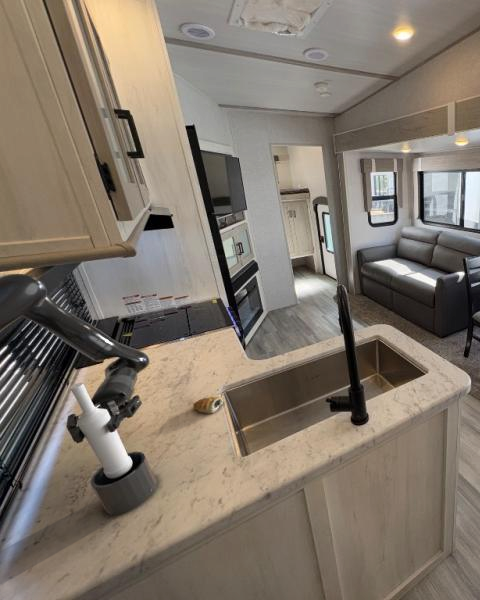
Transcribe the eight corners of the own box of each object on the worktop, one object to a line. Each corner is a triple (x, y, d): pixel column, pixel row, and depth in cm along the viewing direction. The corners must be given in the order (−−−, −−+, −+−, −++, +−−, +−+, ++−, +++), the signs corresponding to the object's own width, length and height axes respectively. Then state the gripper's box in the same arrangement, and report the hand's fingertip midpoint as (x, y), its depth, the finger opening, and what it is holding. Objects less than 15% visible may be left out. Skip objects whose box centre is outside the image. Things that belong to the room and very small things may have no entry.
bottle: (106, 470, 76) (60, 385, 67) (132, 457, 79) (92, 375, 70) (106, 483, 72) (58, 396, 63) (134, 469, 75) (92, 385, 66)
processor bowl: (99, 523, 72) (83, 495, 69) (111, 489, 80) (98, 463, 77) (153, 500, 76) (140, 473, 73) (159, 470, 85) (148, 445, 82)
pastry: (189, 413, 107) (185, 404, 106) (203, 400, 113) (200, 392, 112) (213, 414, 105) (210, 405, 104) (226, 401, 112) (223, 393, 110)
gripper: (72, 392, 78) (42, 435, 64) (142, 373, 84) (128, 408, 70) (84, 415, 81) (58, 461, 67) (151, 395, 87) (140, 433, 73)
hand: (94, 434), depth 69 cm, fingers closed on bottle, 5 cm apart
